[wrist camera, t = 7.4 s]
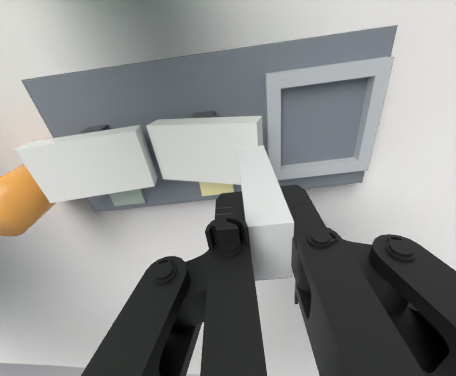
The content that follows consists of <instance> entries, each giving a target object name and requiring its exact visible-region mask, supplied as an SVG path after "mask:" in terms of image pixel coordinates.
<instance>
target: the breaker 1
mask: <svg viewBox="0 0 456 376" xmlns="http://www.w3.org/2000/svg"><path fill="white" fill-rule="evenodd" d="M15 151H16V153H17V154H18V156H19V157H20V159H21V160H22V162H23V163H24V165H25V166H26V168H27V169H28V171H29V172H30V174H31V175H32V177H33V178H34V180H35V181H36V183H37V184H38V186H39V187H40V189H41V190H42V192H43V193H44V195H45V196H46V197H47V199H48V200H49V202H50V203H55V202H61V201H68V200H74V199H80V198H86V197H92V196H98V195H105V194H111V193H117V192H123V191H129V190H135V189H142V188H148V187H154V186H155V184H156V181H157V178H158V177H157V174H156V171H155V168H154V165H153V162H152V159H151V156H150V153H149V150H148V147H147V144H146V141H145V138H144V135H143V132H142V129H141V126H140V125H136V126H129V127H123V128H116V129H110V130H103V131H97V132H90V133H84V134H77V135H71V136H64V137H58V138H51V139H45V140H38V141H32V142H28V143H26V144H24V145H22V146H20V147H18V148H17V149H15Z"/></svg>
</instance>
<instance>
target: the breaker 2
mask: <svg viewBox="0 0 456 376" xmlns="http://www.w3.org/2000/svg"><path fill="white" fill-rule="evenodd" d="M146 127H147V130H148V133H149V137H150V140H151V143H152V146H153V149H154V152H155V155H156V158H157V162H158V165H159V168H160V171H161V174H162V177H163V179H168V180H182V181H196V182H209V183H223V184H237V185H241V180H240V171H239V162H238V153H237V149H238V148H247V147H255V146H263V128H262V116H240V117H211V118H183V119H158V120H156V121H154V122H152V123H150V124H148V125H146Z"/></svg>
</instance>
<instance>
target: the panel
mask: <svg viewBox="0 0 456 376" xmlns="http://www.w3.org/2000/svg"><path fill="white" fill-rule="evenodd" d="M396 30H397V25H396V26H389V27H381V28H374V29H367V30H360V31H354V32H347V33H340V34H333V35H326V36H319V37H312V38H306V39H299V40H292V41H285V42H278V43H271V44H264V45H258V46H251V47H244V48H237V49H230V50H223V51H216V52H210V53H203V54H196V55H189V56H182V57H175V58H168V59H162V60H155V61H148V62H141V63H134V64H127V65H120V66H114V67H107V68H100V69H93V70H86V71H79V72H72V73H66V74H59V75H52V76H45V77H38V78H32V79H25V80H21V81H22V82H23V84H24V86H25V88H26V90H27V91H28V93H29V95H30V97H31V99H32V100H33V102H34V104H35V106H36V108H37V109H38V111H39V113H40V115H41V116H42V118H43V120H44V122H45V124H46V125H47V127H48V129H49V131H50V133H51V134H52V136H53V138H58V137H64V136H71V135H77V134H84V133H90V132H97V131H103V130H110V129H116V128H123V127H129V126H136V125H140V126H141V129H142V132H143V135H144V138H145V141H146V144H147V147H148V150H149V153H150V156H151V159H152V162H153V165H154V168H155V171H156V174H157V177H158V178H157V181H156V184H155V186H154V187H148V188H142V189H135V190H129V191H123V192H117V193H111V194H105V195H98V196H92V197H87V199H88V201H89V203H90V204H91V206H92V208H93V210H94V212H101V211H110V210H119V209H128V208H137V207H146V206H155V205H164V204H173V203H182V202H190V201H199V200H208V199H217V198H218V197H219V195H220V194H221V193H230V192H239V191H242V190H241V185H237V184H223V183H209V182H196V181H182V180H168V179H163V177H162V174H161V171H160V168H159V165H158V162H157V158H156V155H155V152H154V149H153V146H152V143H151V140H150V137H149V133H148V130H147V127H146V125H148V124H150V123H152V122H154V121H156V120H158V119H183V118H211V117H240V116H262V128H263V145H264V148H265V150H266V153H267V155H268V158H269V160H270V163H271V165H272V168H273V170H274V173H275V176H276V178H277V181H278V183H279V186H287V185H296V184H297V185H299V186H300V187H302V188H303V189H307V188H316V187H325V186H334V185H343V184H352V183H361V182H362V180H363V176H364V171H365V170H368V167H369V163H370V159H371V154H372V150H373V146H374V142H375V137H376V133H377V129H378V125H379V120H380V116H381V112H382V107H383V103H384V99H385V95H386V90H387V86H388V82H389V78H390V73H391V69H392V65H393V61H394V57H390V56H391V52H392V48H393V43H394V39H395V34H396Z"/></svg>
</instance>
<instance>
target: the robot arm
mask: <svg viewBox="0 0 456 376" xmlns="http://www.w3.org/2000/svg"><path fill="white" fill-rule="evenodd" d="M237 153H238V162H239V171H240V180H241V190H242V191H239V192H230V193H221V194H220V195H219V197H218V198H217V200H216V209H215V220H213V221H212V222H211V223H210V224H209V225H208V226H207V228H206V231H205V234H206V238H207V242H208V246H209V250H208V251H207V252H206V253H204V254H203V255H201V256H199V257H197V258H195V259H192V260H189V261H187V262H184V261H183V260H182V259H181V258H179V257H176V256H168V257H164V258H161V259H159V260H157V261H156V262H154V263H153V264H151V266H150V267H149V268H148V269H147V270H146V272H145V273H144V275H143V276H142V278H141V280H140V281H139V283H138V285H137V286H136V288H135V289H134V291H133V293H132V294H131V296H130V297H129V299H128V301H127V302H126V304H125V305H124V307H123V309H122V310H121V312H120V314H119V315H118V317H117V318H116V320H115V322H114V323H113V325H112V326H111V328H110V330H109V331H108V333H107V335H106V336H105V338H104V339H103V341H102V343H101V344H100V346H99V347H98V349H97V351H96V352H95V354H94V356H93V357H92V359H91V360H90V362H89V364H88V365H87V367H86V368H85V370H84V372H83V373H82V375H81V376H186V373H187V370H188V367H189V364H190V360H191V357H192V354H193V351H194V347H195V344H196V341H197V338H198V334H199V331H200V328H201V325H202V322H204V332H203V346H202V360H201V373H200V376H267V371H266V363H265V356H264V348H263V340H262V333H261V325H260V318H259V310H258V302H257V295H256V287H255V281H257V280H269V279H280V278H291V277H292V270H293V274H294V277H295V280H296V281H295V304H298V302H299V305H300V309H301V312H302V316H303V319H304V323H305V326H306V329H307V333H308V336H309V340H310V343H311V347H312V350H313V354H314V357H315V361H316V364H317V368H318V371H319V375H320V376H456V271H455V270H454V269H452V268H451V267H449V266H448V265H447V264H445V263H444V262H443V261H441V260H440V259H438V258H437V257H436V256H434V255H433V254H432V253H430V252H429V251H427V250H426V249H425V248H423V247H422V246H421V245H419V244H417V243H416V242H414V241H412V240H410V239H408V238H405V237H402V236H398V235H390V234H388V235H381V236H379V237H377V238H375V240H374V242H373V244H372V245H369V244H362V243H355V242H350V241H346V240H343V239H342V238H341V237H340V236H339V235H338V234H337V233H336V232H335V231H333V230H331V229H330V228H327V227H326V226H325V224H324V222H323V221H322V219H321V217H320V215H319V214H318V212H317V210H316V208H315V207H314V205H313V204H312V201H311V200H310V198H309V196H308V194H307V193H306V191H305V190H304V189H303V188H302V187H300V186H299V185H297V184H296V185H287V186H279V183H278V181H277V178H276V176H275V173H274V170H273V168H272V165H271V163H270V160H269V158H268V155H267V153H266V150H265V148H264V145H263V146H255V147H247V148H238V149H237Z"/></svg>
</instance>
